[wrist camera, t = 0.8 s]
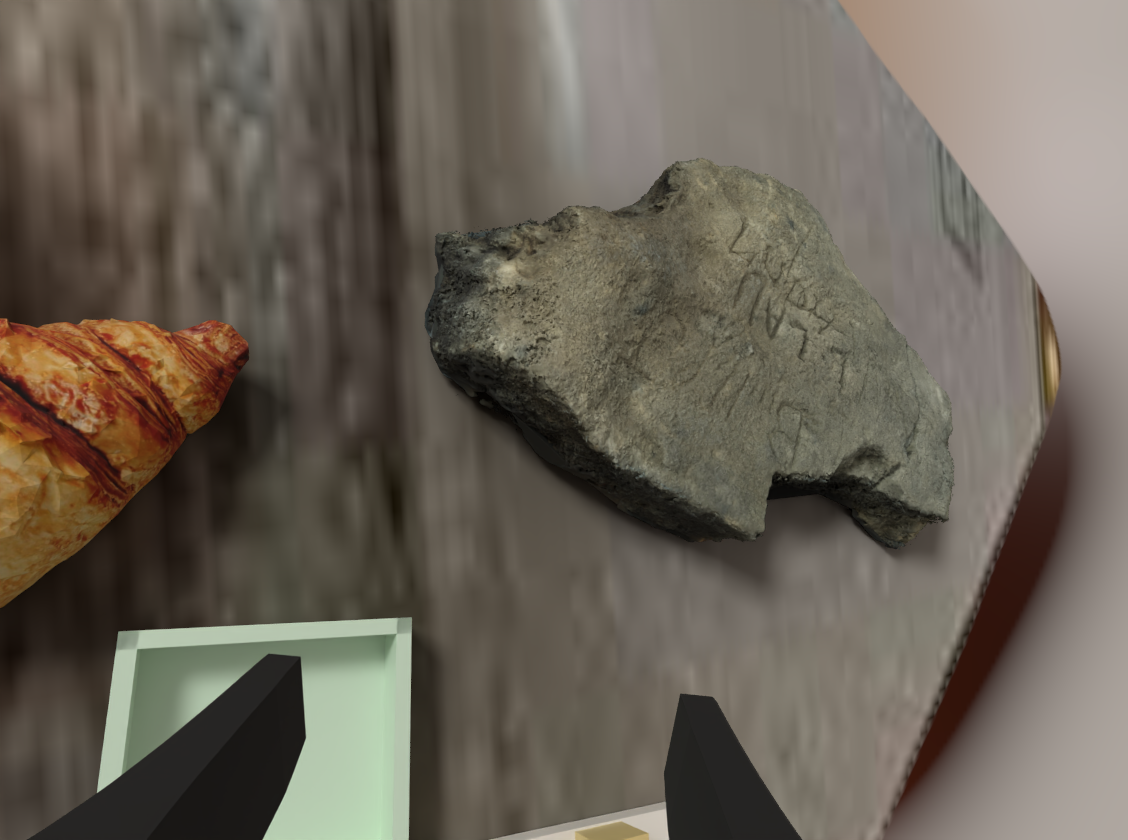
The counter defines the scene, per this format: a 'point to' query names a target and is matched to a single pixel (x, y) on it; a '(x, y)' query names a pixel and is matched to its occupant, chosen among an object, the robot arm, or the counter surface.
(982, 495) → the counter surface
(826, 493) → the stone
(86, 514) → the croissant
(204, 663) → the tray
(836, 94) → the counter surface
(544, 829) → the fuse block
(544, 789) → the counter surface
